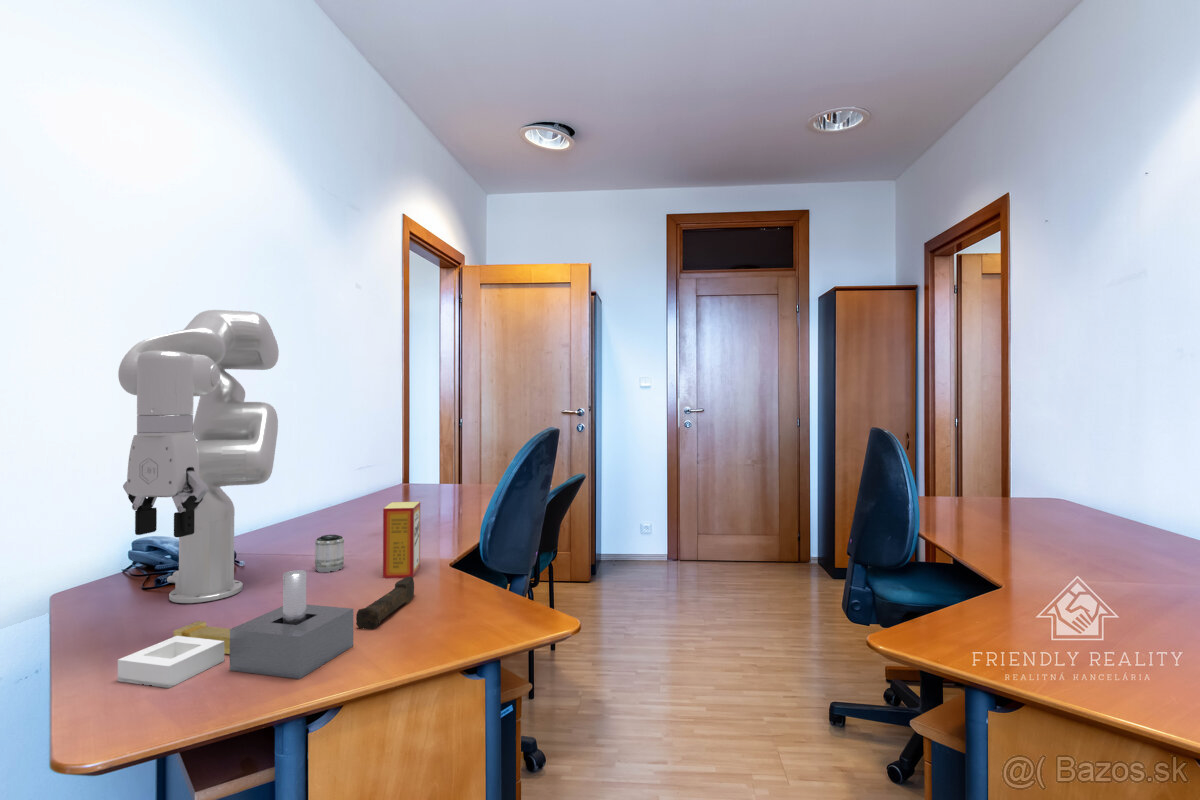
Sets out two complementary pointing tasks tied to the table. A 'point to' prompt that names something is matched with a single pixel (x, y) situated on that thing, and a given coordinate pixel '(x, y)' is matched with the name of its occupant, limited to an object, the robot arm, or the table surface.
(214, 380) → the robot arm
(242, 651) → the socket
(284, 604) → the grey cylindrical peg
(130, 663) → the tray
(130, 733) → the table surface
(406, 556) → the baking soda box
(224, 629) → the key
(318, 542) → the camera lens
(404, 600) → the hand tool
